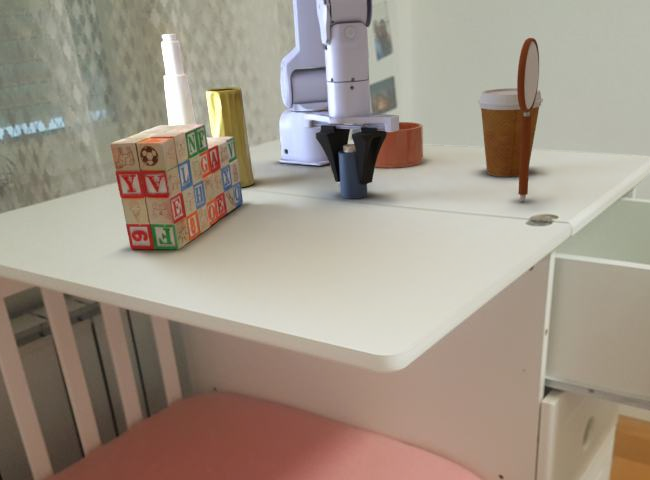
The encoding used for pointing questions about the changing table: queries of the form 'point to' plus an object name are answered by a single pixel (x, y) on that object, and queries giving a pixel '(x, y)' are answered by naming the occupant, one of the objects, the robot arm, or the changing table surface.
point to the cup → (402, 147)
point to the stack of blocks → (175, 183)
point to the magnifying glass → (526, 105)
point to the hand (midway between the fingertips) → (353, 181)
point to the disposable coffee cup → (504, 129)
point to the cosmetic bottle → (176, 84)
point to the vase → (231, 125)
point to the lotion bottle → (350, 173)
